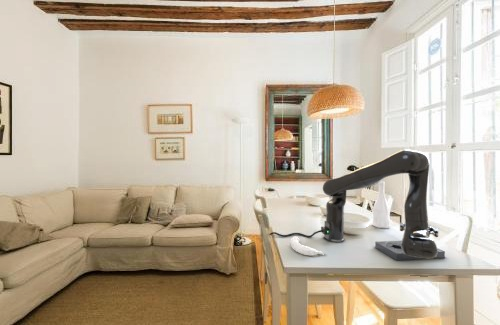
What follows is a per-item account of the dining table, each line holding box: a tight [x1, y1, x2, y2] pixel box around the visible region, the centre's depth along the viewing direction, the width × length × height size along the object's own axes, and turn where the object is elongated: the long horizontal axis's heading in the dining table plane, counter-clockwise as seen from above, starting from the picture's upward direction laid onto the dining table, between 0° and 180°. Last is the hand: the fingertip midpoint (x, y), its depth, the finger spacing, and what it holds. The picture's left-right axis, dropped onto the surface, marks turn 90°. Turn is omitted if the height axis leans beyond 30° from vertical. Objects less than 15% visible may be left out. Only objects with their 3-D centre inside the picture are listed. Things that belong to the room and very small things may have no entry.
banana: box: [290, 236, 325, 256], centre depth 111 cm, size 5×19×15 cm
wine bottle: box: [372, 180, 391, 229], centre depth 148 cm, size 10×10×30 cm
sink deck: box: [374, 240, 446, 261], centre depth 108 cm, size 24×14×3 cm, turn 97°
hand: (418, 225), depth 108 cm, fingers open, 8 cm apart
